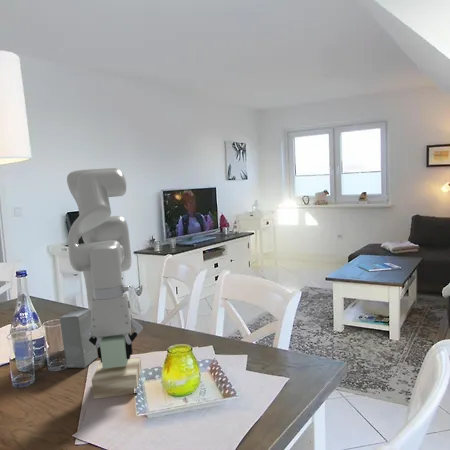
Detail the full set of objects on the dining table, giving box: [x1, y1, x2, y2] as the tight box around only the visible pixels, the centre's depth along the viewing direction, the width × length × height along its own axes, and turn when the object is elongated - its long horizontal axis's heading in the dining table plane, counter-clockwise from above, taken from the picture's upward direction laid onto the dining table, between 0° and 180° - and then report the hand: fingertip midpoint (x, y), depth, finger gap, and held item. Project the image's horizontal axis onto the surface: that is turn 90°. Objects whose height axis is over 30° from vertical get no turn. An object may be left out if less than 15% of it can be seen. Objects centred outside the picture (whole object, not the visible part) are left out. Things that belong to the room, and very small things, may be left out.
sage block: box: [100, 335, 129, 369], centre depth 111 cm, size 6×6×7 cm
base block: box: [91, 356, 142, 400], centre depth 112 cm, size 11×11×5 cm
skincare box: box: [59, 308, 98, 368], centre depth 129 cm, size 8×7×16 cm
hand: (116, 358), depth 112 cm, fingers closed on sage block, 6 cm apart
